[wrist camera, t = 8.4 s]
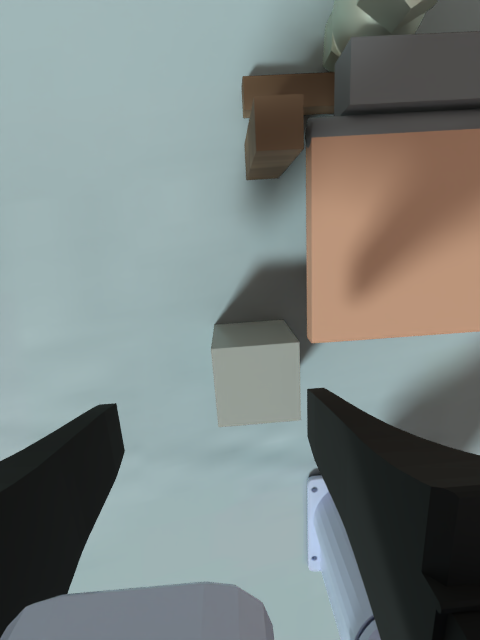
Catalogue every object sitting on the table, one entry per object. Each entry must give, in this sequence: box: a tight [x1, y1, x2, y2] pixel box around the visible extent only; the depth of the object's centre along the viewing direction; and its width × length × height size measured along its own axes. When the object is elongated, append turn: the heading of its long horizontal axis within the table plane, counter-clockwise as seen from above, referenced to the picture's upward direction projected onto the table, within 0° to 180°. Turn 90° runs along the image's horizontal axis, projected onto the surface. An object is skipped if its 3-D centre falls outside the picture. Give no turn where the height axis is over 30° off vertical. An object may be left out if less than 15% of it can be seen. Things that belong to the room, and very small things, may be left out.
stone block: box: [211, 320, 301, 427], centre depth 20 cm, size 5×5×5 cm
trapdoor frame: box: [242, 72, 335, 180], centre depth 16 cm, size 5×15×6 cm, turn 94°
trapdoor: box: [305, 31, 480, 343], centre depth 15 cm, size 13×10×2 cm
